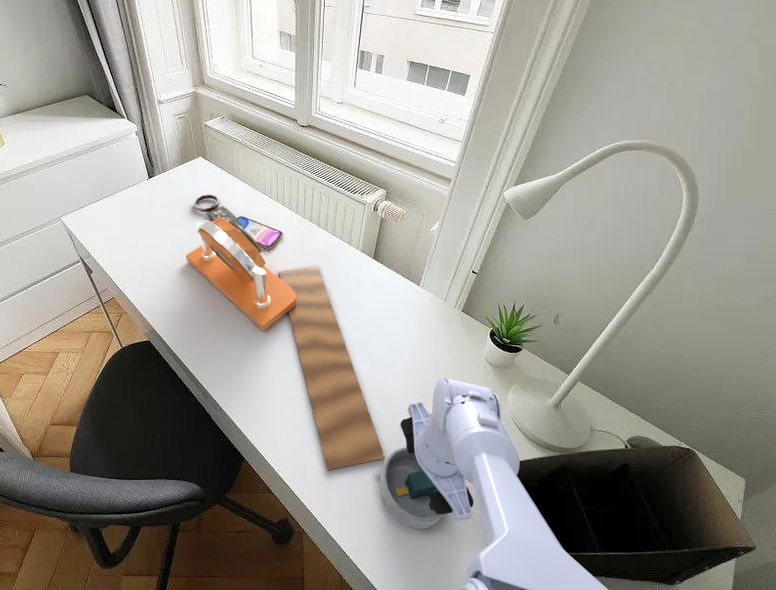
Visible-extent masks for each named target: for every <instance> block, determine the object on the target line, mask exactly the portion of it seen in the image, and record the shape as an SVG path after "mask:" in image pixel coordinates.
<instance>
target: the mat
mask: <svg viewBox="0 0 776 590" xmlns="http://www.w3.org/2000/svg"><path fill="white" fill-rule="evenodd" d="M278 275H279V278H280V279H281V280H282V281H284V282H285V283H286V284H287V285H289V286H290V287H291V288H292V290H293V291H294V292H295V295H296V304H295V306H294V307H293V308H291V309H290V310H289V311H288V315H289V320H290V324H291V327H292V332H293V336H294V340H295V343H296V348H297V352H298V355H299V361H300V364H301V368H302V373H303V377H304V380H305V381H304V382H305V385H306V389H307V394H308V397H309V402H310V405H311V409H312V414H313V417H314V418H313V419H314V421H315V426H316V429H317V434H318V438H319V442H320V446H321V450H322V454H323V458H324V459H323V460H324V463H325V467H326V471H333V470H338V469H341V468H342V469H343V468H347V467H352V466H356V465H361V464H365V463H371V462H375V461H380V460H384V459H385V455H384V452H383V449H382V447H381V443H380V441H379V438H378V435H377V432H376V429H375V427H374V422H373V420H372V418H371V415H370V411H369V408H368V406H367V403H366V400H365V397H364V395H363V392H362V389H361V386H360V383H359V380H358V377H357V374H356V372H355V368H354V365H353V363H352V361H351V360H352V359H351V358H350V354H349V351H348V349H347V346H346V343H345V340H344V338H343V334H342V331H341V328H340V326H339V323H338V320H337V317H336V315H335V312H334V308H333V305H332V303H331V300H330V297H329V295H328V291H327V289H326V286H325V283H324V280H323V276H322V275H321V271H320V268H319V266H312V267H311V266H310V267H305V268H299V269H298V268H297V269H292V270H285V271H279V272H278Z"/></svg>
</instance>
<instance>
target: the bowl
mask: <svg viewBox="0 0 776 590" xmlns="http://www.w3.org/2000/svg"><path fill="white" fill-rule="evenodd" d="M418 471H423V469H422V468H421V467H420V465H419V464H418V462H417V459H416V456H415V453H411V454H409V453H408V451H407V447H400V448H398V449H396V450H394V451H393V452H392V453H390V455H389V456H388V457H387V459H386V461H385V463H384V466H383V468H382V471H381V474H380V479H379V487H380V488H379V489H380V494H381V497H382V500H383V502H384V505H385V506H386V508H387V510H388V511H389V513H390V514H391V515H392V516H393V517H394V518H395V519H396V520H397V521H398V522H400V523H401V524H403V525H404V526H406V527H409V528H412V529H417V530H425V529H428V528H430V527H432V526H434V525H436V524H438V522H439V521H440V519H441V518H442V517H443V515H439V514H436V512H435V511H431V509H430V507H429V502H430V499H429V496H428V495H427V496H423V497H418V498H414V499H411V498H410V495H409V494H408V495H403V496H399V497H397V495H396V492H395V489H397V488H402V487H406V484H405V481H406V479H407V477H408V475H409V473H414V472H418ZM438 491H439V490H438V489H437V488H436V489H435V491H434V492H438Z"/></svg>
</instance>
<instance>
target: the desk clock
mask: <svg viewBox="0 0 776 590" xmlns="http://www.w3.org/2000/svg"><path fill="white" fill-rule="evenodd" d="M195 226H196V230H197V235H198V239H199V243H200V246H199V247H197V248H196V249H194V250H192V251H190V252H189V253H187V254H186V255H185V258H186V261H187V262H188V263H189V264H190V265H191V266H192V267H193V268H195V270H196V271H198V272H199V273H200V275H202V276H203V277H204V278H205V279H206V280H207V281H208V282H209V283H211V284H212V286H214V287H215V288H216V289H217V290H218V291H219V292H220V293H221V294H222V295H224V296H225V297H226V299H228V300H229V301H230V302H231V303H232V304H234V306H235V307H237V308H238V309H239V310H240V311H241V312H242V313H243V314H244V315H245V316H247V318H248V319H249V320H250V321H252V322H253V323H254V324H255V325H256V326H257V327H258V328H259V329H260V330H262V331H263V332H265V331H266V330H268V328H270V327H271V325H273V324H274V323H275V322H277V321H278V320H279V319H281V318H282V317H283V316H284V315H285V314H286V313H289V310H290V309H291V308H293V307H294V306H295V304H296V295H295V292H294V291H293V290H292V288H291V287H290V286H289V285H287V284H286V283H285V282H284V281H282V280H281V279H280V276H277V275H276V274H275V273H274V272H272V271H271V270H270V269H269V268H267V267H266V266H265V265H266V260H265V259H264V258H263V257H262V247H261V246H259V245H258V244H257V242H256V241H255V240H254V239H253V238H252V237H251V235H250V234H249V233H248V232H247V231H245V230H244V229H243V228H242V227H241V226H240V225H238V224H237V223H235V222H234V221H232V220H228V222H227V221H226V220H225V219H223V218H222V217H219V218H217V219H215V220H213V221H212V220H211V221H210V220H204V221H203V222H200V221H199V222H196V223H195Z"/></svg>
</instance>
